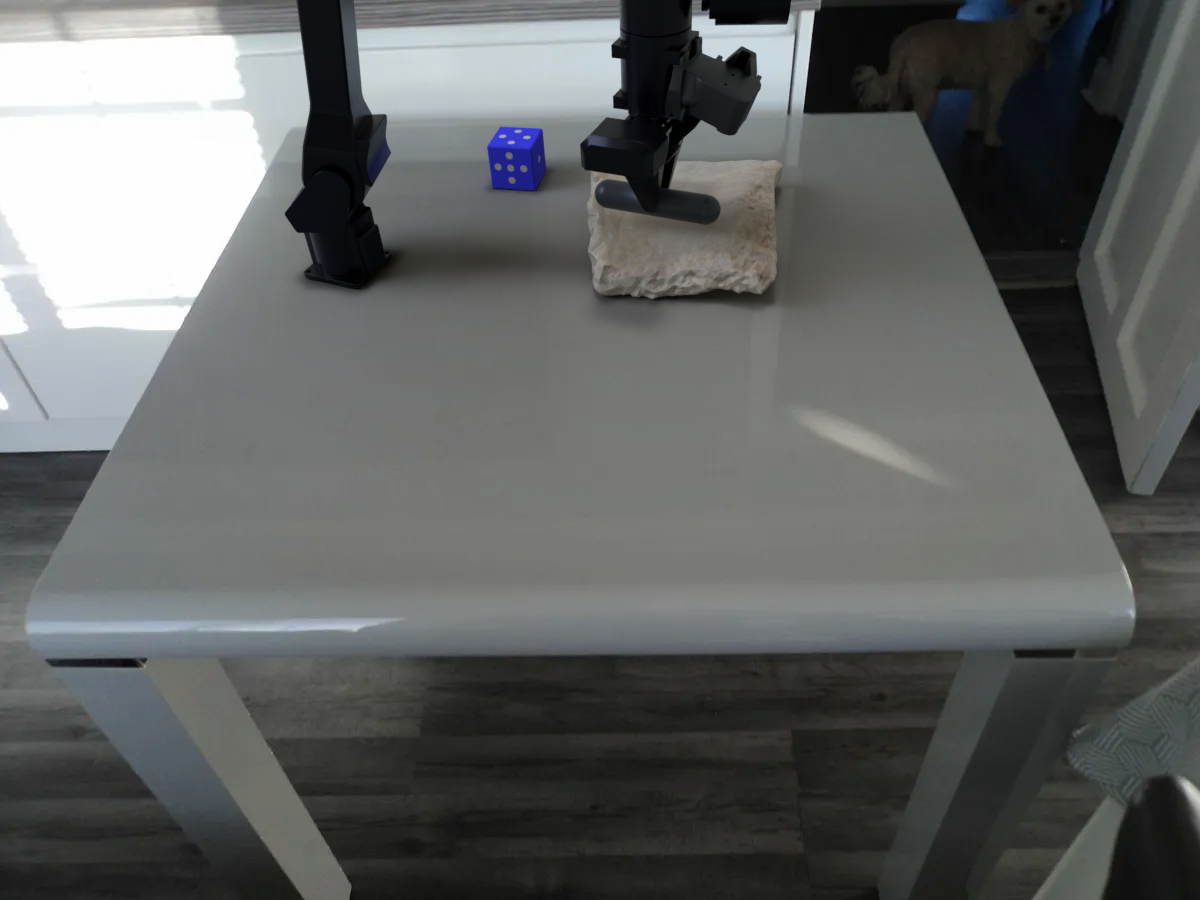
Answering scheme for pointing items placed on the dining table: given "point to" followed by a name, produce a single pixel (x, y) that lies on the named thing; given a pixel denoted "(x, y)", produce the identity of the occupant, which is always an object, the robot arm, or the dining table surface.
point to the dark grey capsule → (660, 202)
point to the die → (517, 158)
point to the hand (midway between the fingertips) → (655, 204)
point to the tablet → (690, 236)
